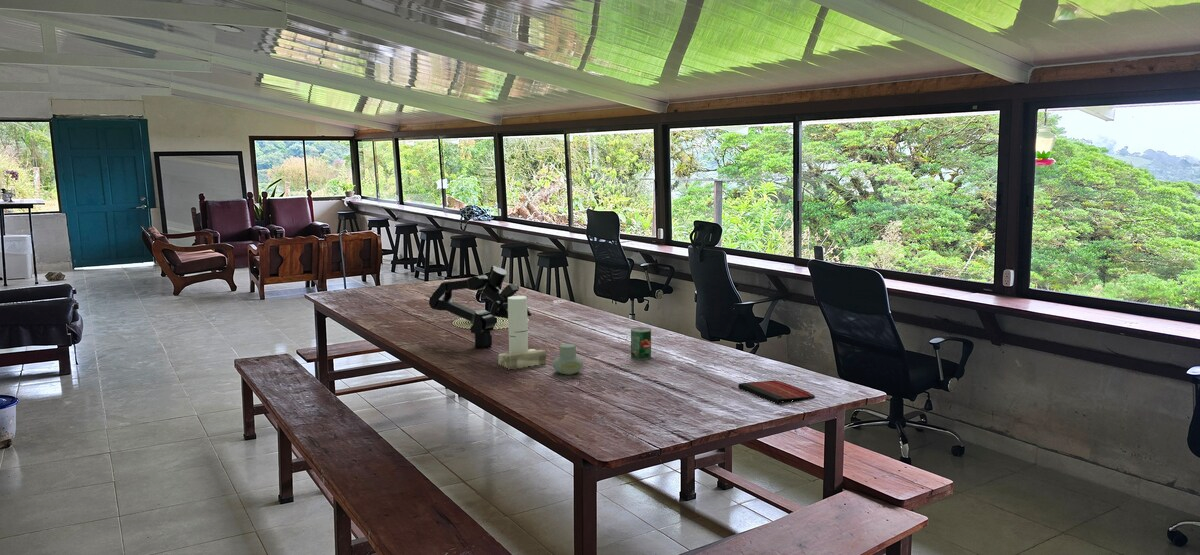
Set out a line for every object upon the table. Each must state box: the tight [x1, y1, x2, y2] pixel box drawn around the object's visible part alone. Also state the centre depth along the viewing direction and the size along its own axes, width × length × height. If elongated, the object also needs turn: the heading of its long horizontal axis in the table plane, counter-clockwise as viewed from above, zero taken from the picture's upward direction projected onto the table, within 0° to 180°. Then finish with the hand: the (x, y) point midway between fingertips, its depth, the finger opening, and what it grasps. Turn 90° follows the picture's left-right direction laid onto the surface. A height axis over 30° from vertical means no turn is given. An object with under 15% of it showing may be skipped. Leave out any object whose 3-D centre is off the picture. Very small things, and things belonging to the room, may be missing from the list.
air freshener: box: [552, 343, 584, 376], centre depth 295 cm, size 11×8×10 cm
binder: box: [738, 380, 815, 405], centre depth 269 cm, size 16×2×21 cm
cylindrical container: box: [507, 295, 529, 354], centre depth 308 cm, size 7×7×25 cm
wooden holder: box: [497, 348, 547, 370], centre depth 308 cm, size 10×15×5 cm, turn 123°
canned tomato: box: [630, 326, 652, 360], centre depth 316 cm, size 8×8×11 cm
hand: (523, 317), depth 323 cm, fingers open, 9 cm apart
